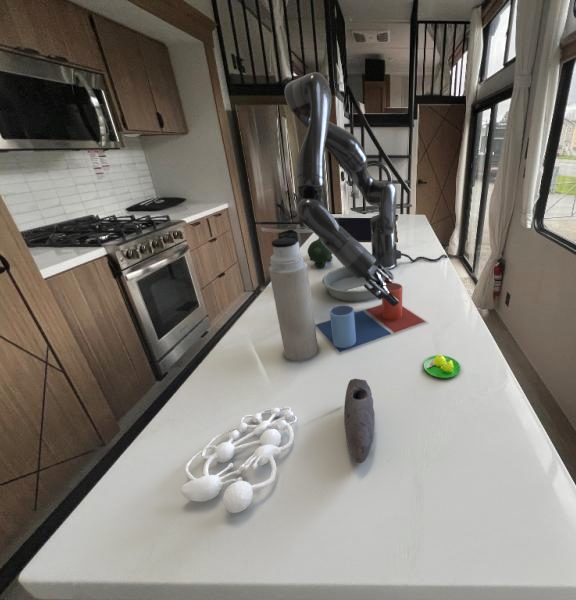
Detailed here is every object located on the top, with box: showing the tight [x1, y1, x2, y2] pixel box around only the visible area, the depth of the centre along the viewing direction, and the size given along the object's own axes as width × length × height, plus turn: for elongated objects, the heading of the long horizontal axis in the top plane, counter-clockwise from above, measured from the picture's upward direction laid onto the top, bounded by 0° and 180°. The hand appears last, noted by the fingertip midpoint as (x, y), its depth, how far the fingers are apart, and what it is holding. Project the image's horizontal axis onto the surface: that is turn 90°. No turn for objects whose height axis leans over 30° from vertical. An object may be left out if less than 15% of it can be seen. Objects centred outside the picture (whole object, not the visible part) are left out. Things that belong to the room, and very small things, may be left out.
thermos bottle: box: [268, 238, 319, 361], centre depth 73 cm, size 8×8×28 cm
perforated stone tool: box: [343, 378, 375, 465], centre depth 55 cm, size 15×5×7 cm, turn 3°
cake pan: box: [322, 266, 395, 302], centre depth 112 cm, size 25×25×4 cm
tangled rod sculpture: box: [180, 406, 298, 514], centre depth 52 cm, size 19×14×4 cm
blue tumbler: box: [329, 304, 356, 348], centre depth 80 cm, size 6×6×9 cm
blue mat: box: [315, 310, 392, 353], centre depth 88 cm, size 15×16×1 cm
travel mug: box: [277, 229, 301, 253], centre depth 111 cm, size 6×7×20 cm
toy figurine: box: [307, 239, 333, 269], centre depth 136 cm, size 9×19×25 cm
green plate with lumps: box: [423, 354, 461, 379], centre depth 72 cm, size 8×8×3 cm
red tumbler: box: [381, 282, 403, 320], centre depth 93 cm, size 6×6×9 cm
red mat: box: [365, 304, 426, 333], centre depth 94 cm, size 10×16×1 cm, turn 32°
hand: (398, 299), depth 92 cm, fingers closed on red tumbler, 5 cm apart
